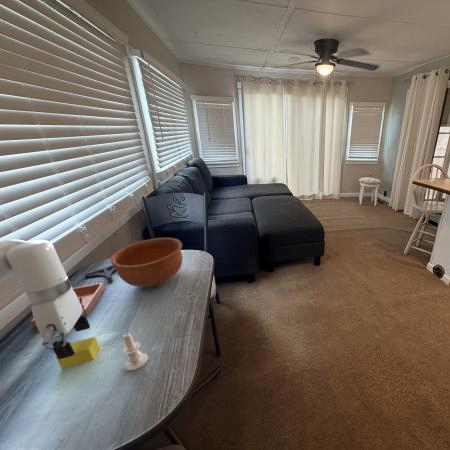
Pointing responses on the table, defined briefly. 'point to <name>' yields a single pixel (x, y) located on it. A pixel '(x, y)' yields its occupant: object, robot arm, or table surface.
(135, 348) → the chess piece
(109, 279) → the bracket
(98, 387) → the table surface
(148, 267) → the bowl
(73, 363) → the sponge
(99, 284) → the pan
